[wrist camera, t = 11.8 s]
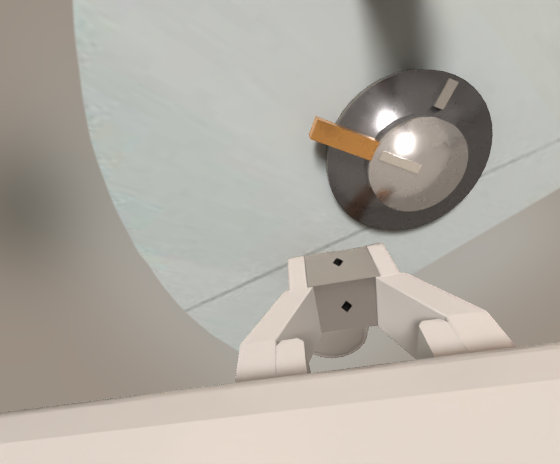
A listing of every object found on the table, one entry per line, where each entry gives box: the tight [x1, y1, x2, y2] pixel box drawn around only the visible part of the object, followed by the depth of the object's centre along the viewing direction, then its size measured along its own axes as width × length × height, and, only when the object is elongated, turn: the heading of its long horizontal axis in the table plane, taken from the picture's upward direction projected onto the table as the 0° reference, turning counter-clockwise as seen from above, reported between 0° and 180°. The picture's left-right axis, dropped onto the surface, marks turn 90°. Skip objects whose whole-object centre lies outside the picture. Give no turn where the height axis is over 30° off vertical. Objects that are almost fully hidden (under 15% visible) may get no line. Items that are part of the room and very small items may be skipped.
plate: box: [326, 69, 492, 230], centre depth 38 cm, size 20×20×2 cm
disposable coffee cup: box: [313, 327, 368, 358], centre depth 44 cm, size 10×10×12 cm
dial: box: [309, 114, 468, 211], centre depth 35 cm, size 18×11×3 cm, turn 71°
